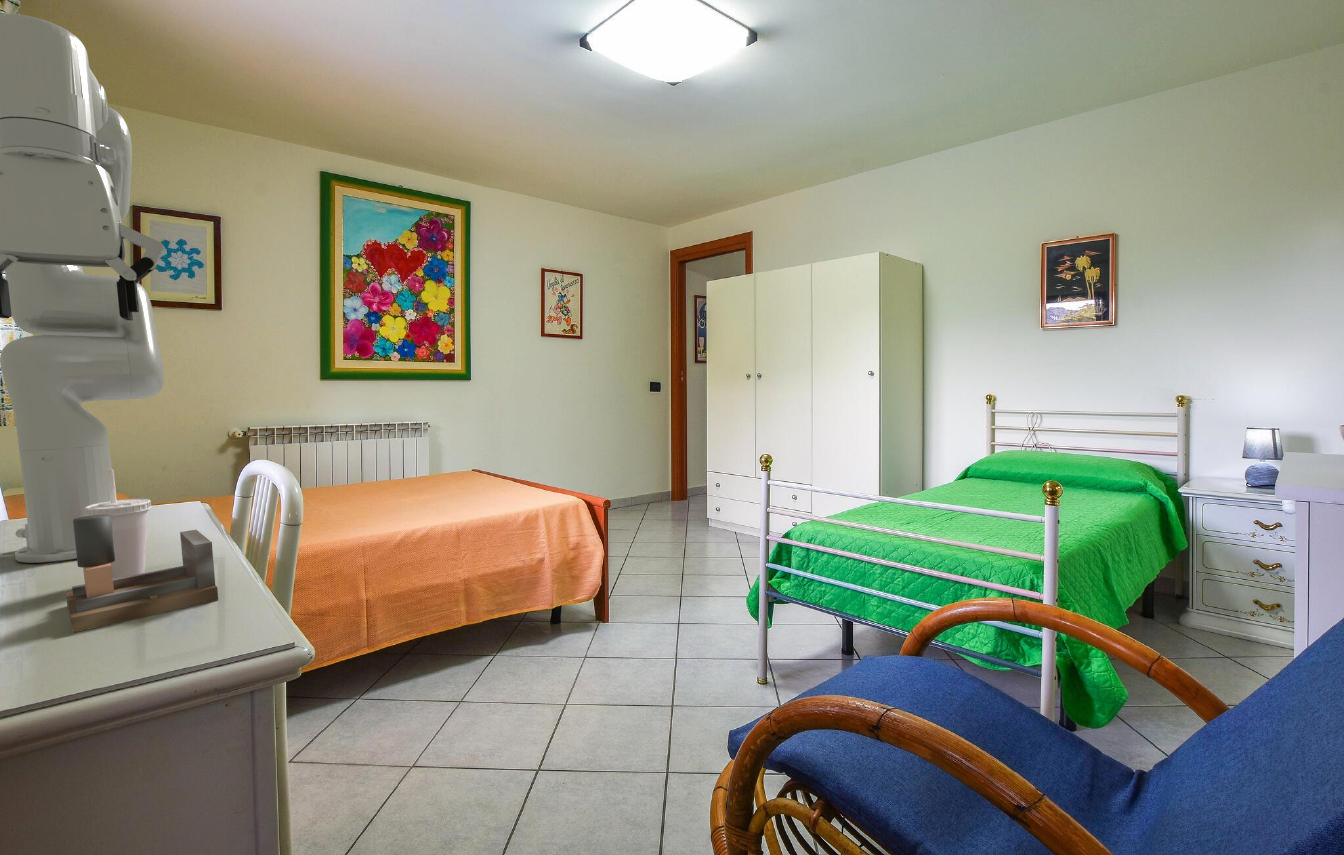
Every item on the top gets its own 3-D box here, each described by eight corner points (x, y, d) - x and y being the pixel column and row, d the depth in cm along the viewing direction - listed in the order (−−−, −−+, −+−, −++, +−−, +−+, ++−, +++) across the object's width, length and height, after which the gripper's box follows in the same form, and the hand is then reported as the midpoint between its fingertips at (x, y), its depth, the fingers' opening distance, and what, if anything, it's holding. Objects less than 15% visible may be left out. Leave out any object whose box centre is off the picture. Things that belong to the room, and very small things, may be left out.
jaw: (82, 604, 66) (74, 523, 65) (79, 593, 69) (71, 516, 68) (120, 597, 68) (113, 518, 67) (115, 586, 71) (108, 511, 71)
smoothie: (123, 571, 83) (113, 465, 82) (171, 570, 83) (161, 465, 82) (76, 587, 77) (64, 473, 76) (127, 587, 77) (116, 473, 75)
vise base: (73, 632, 63) (66, 568, 62) (67, 605, 71) (61, 548, 70) (218, 599, 72) (213, 543, 71) (199, 579, 79) (194, 528, 79)
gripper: (160, 174, 73) (174, 323, 74) (-59, 149, 64) (-39, 320, 65) (152, 153, 67) (167, 315, 68) (-93, 121, 58) (-70, 311, 59)
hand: (66, 317), depth 66 cm, fingers open, 9 cm apart
